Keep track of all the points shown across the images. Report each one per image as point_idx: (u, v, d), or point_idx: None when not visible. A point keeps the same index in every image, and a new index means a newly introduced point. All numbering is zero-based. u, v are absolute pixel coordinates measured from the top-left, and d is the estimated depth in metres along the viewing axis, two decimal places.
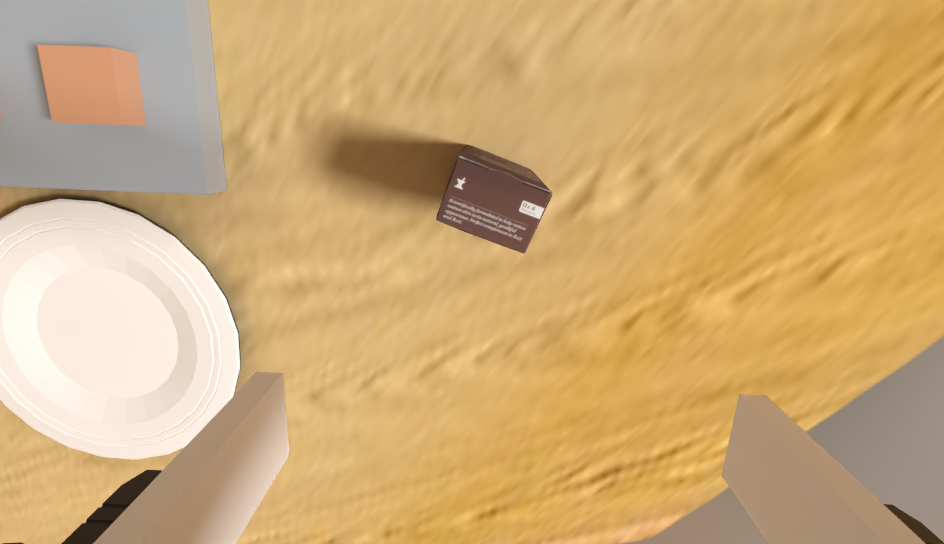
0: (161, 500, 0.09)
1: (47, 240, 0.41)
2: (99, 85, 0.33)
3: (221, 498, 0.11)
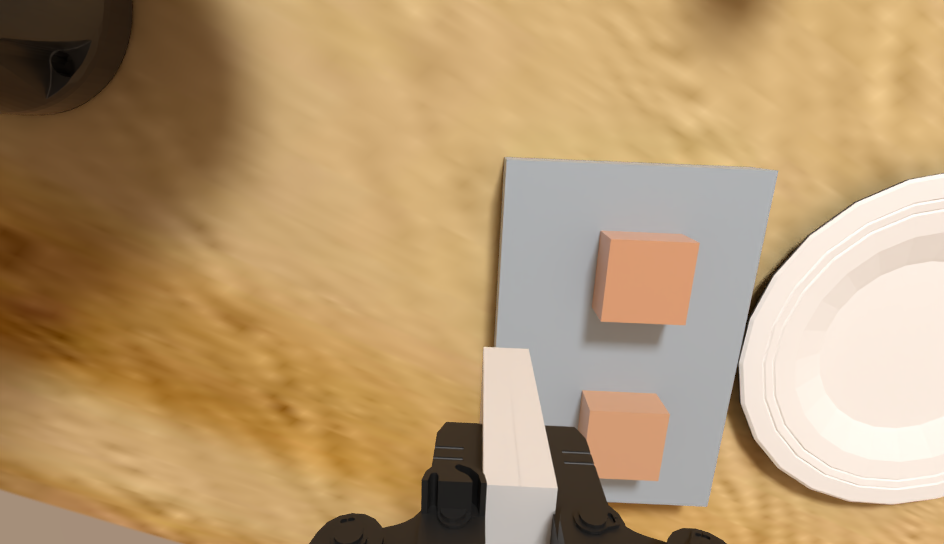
0: (505, 438, 0.11)
1: (785, 386, 0.34)
2: (651, 261, 0.28)
3: None
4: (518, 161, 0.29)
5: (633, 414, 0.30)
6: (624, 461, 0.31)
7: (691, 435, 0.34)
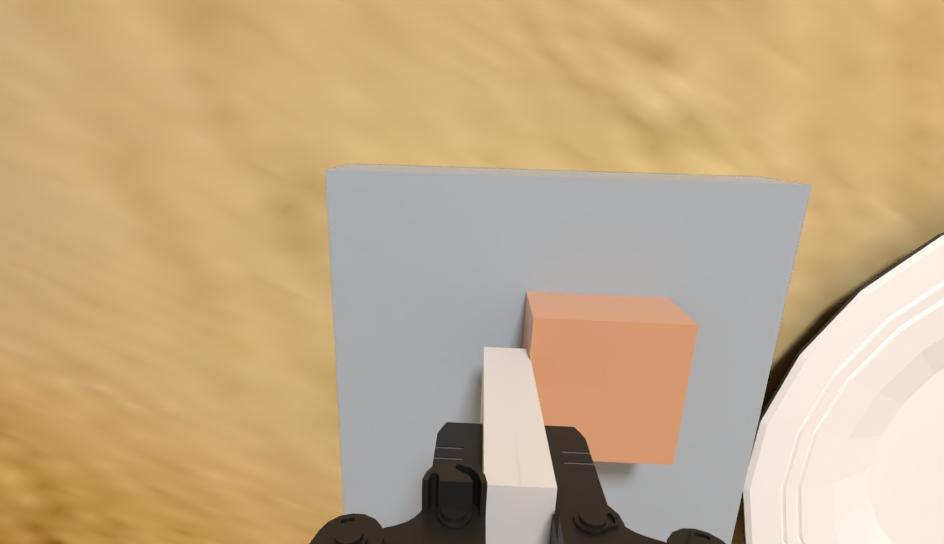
0: (505, 438, 0.11)
1: (816, 522, 0.21)
2: (609, 357, 0.15)
3: None
4: (346, 172, 0.16)
5: None
6: None
7: None
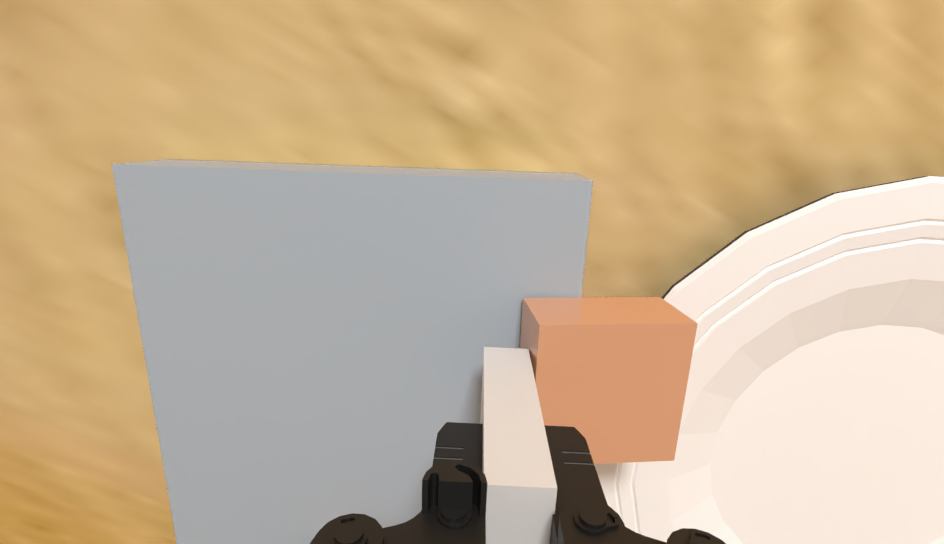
0: (505, 439, 0.11)
1: (654, 519, 0.22)
2: (614, 359, 0.15)
3: None
4: (132, 167, 0.16)
5: None
6: None
7: None
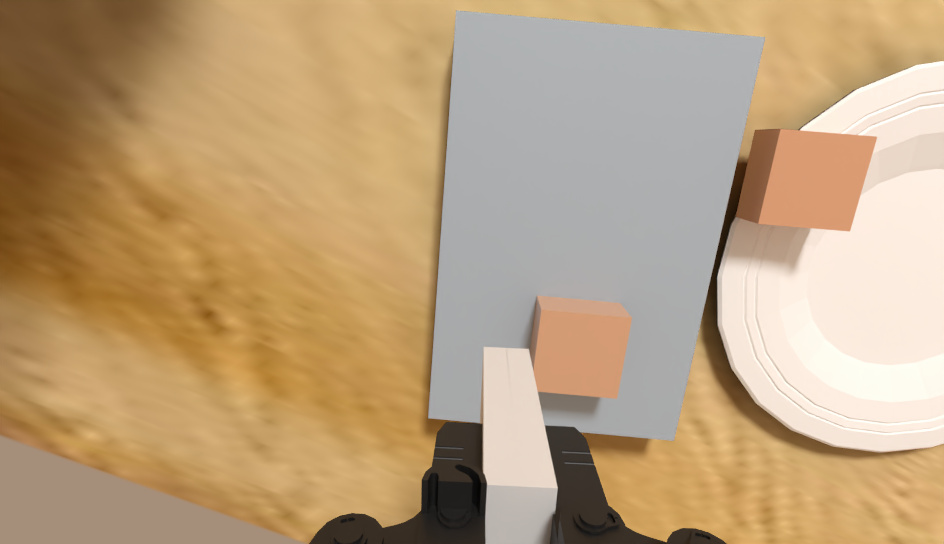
0: (505, 438, 0.11)
1: (768, 307, 0.30)
2: (821, 156, 0.25)
3: None
4: (469, 13, 0.25)
5: (590, 316, 0.27)
6: (579, 373, 0.28)
7: (658, 354, 0.30)
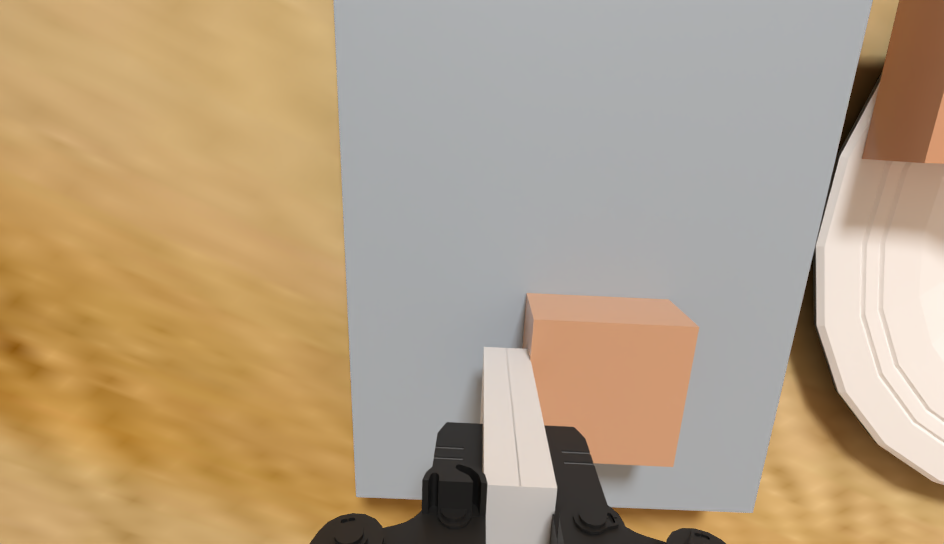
0: (505, 438, 0.11)
1: (900, 292, 0.18)
2: None
3: None
4: None
5: (623, 327, 0.15)
6: (605, 426, 0.16)
7: (725, 379, 0.18)
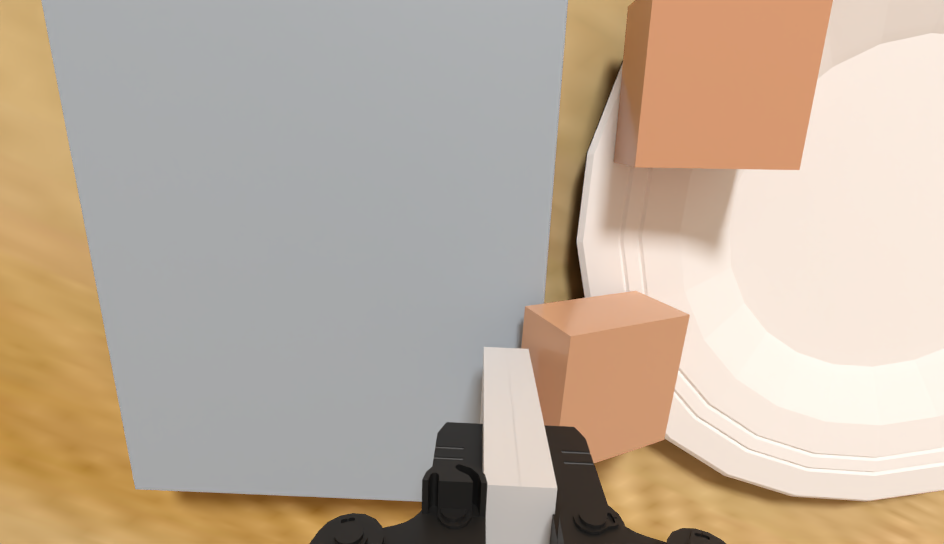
0: (505, 439, 0.11)
1: (665, 287, 0.19)
2: (735, 32, 0.14)
3: None
4: None
5: (639, 327, 0.15)
6: (620, 422, 0.16)
7: (481, 372, 0.18)
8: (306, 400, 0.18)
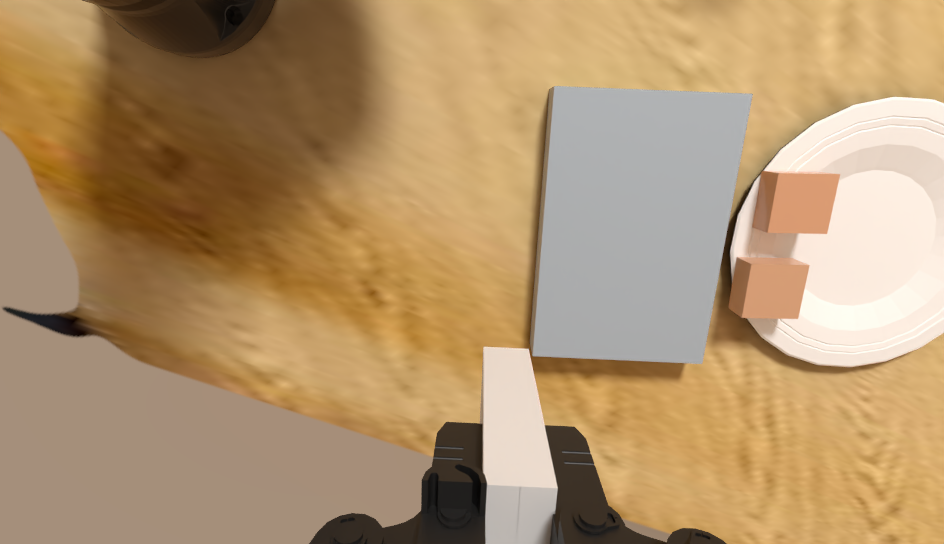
0: (505, 438, 0.11)
1: None
2: (805, 188, 0.40)
3: None
4: (562, 87, 0.39)
5: (782, 266, 0.42)
6: (773, 303, 0.43)
7: (689, 303, 0.44)
8: (615, 316, 0.45)
